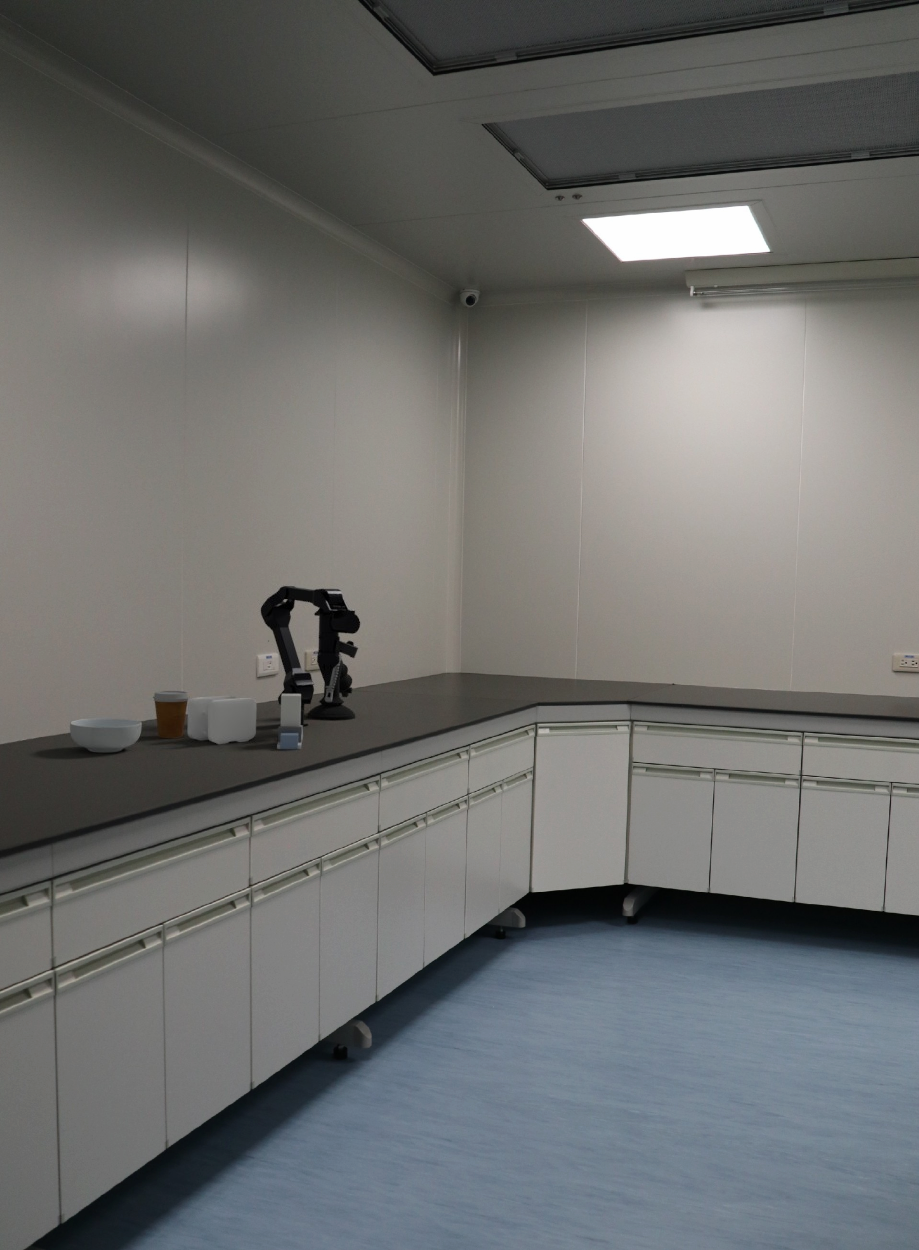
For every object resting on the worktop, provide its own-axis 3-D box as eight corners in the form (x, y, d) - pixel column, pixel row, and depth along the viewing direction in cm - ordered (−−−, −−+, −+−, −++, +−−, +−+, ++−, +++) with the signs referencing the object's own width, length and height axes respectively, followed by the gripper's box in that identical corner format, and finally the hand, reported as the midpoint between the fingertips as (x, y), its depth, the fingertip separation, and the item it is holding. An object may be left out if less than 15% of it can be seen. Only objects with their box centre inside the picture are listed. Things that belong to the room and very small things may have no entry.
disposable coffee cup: (167, 740, 277) (167, 695, 276) (145, 736, 283) (145, 692, 282) (196, 736, 284) (196, 692, 284) (173, 733, 290) (174, 689, 290)
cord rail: (281, 735, 291) (281, 717, 291) (302, 735, 292) (303, 717, 292) (277, 749, 267) (277, 729, 267) (300, 749, 268) (301, 729, 268)
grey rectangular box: (281, 737, 279) (282, 693, 278) (300, 737, 279) (301, 693, 279) (280, 740, 274) (281, 695, 273) (299, 740, 275) (300, 695, 274)
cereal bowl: (106, 758, 248) (107, 728, 247) (54, 751, 254) (54, 722, 254) (155, 748, 263) (156, 720, 263) (105, 743, 270) (105, 715, 270)
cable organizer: (208, 746, 270) (209, 701, 269) (185, 741, 277) (186, 697, 276) (256, 740, 280) (257, 697, 280) (233, 736, 288) (234, 694, 287)
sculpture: (300, 719, 327) (302, 639, 326) (323, 710, 350) (324, 636, 349) (347, 721, 324) (349, 641, 323) (367, 712, 348) (369, 637, 347)
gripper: (357, 634, 293) (356, 689, 294) (355, 631, 312) (354, 683, 313) (317, 633, 292) (316, 689, 293) (318, 630, 311) (317, 682, 311)
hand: (327, 685), depth 302 cm, fingers closed
